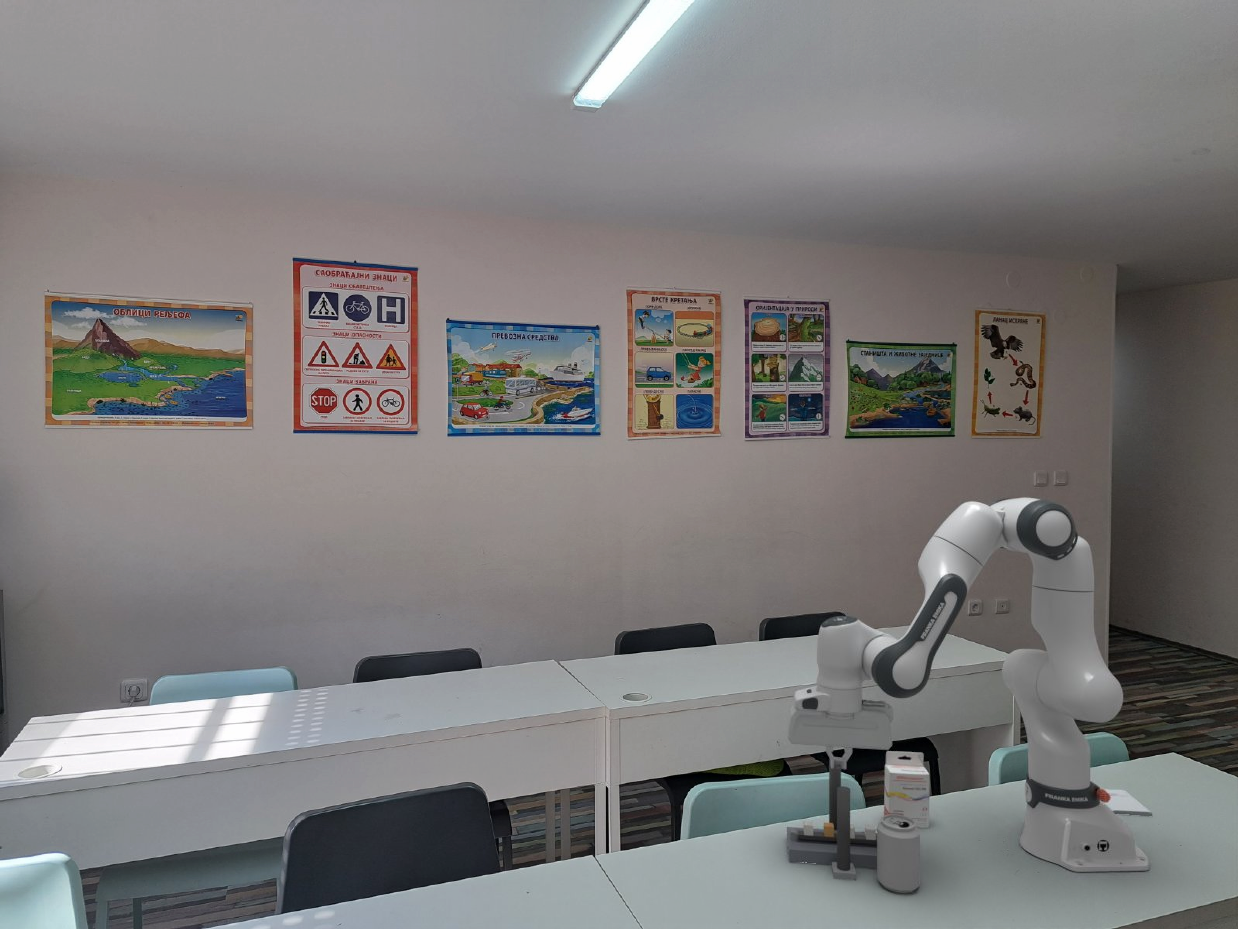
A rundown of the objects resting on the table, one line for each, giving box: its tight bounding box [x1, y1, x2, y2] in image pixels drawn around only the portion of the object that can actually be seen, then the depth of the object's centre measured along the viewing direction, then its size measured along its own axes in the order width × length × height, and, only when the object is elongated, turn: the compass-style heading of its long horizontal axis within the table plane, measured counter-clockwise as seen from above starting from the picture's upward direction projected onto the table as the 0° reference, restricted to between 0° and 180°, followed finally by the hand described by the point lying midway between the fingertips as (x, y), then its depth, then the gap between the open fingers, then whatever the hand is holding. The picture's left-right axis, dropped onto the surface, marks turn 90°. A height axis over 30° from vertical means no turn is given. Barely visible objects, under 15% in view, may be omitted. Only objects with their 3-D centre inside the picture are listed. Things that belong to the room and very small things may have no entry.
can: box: [876, 814, 921, 894], centre depth 151 cm, size 8×8×12 cm
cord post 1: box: [828, 757, 842, 830], centre depth 171 cm, size 4×4×16 cm
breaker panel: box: [786, 826, 877, 870], centre depth 163 cm, size 20×10×4 cm, turn 81°
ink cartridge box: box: [883, 750, 931, 829], centre depth 177 cm, size 9×5×15 cm, turn 84°
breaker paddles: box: [798, 820, 877, 844], centre depth 163 cm, size 16×2×3 cm, turn 81°
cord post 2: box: [831, 785, 857, 881], centre depth 155 cm, size 4×4×16 cm
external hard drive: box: [1100, 788, 1153, 817], centre depth 187 cm, size 2×8×12 cm
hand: (838, 768), depth 163 cm, fingers closed
